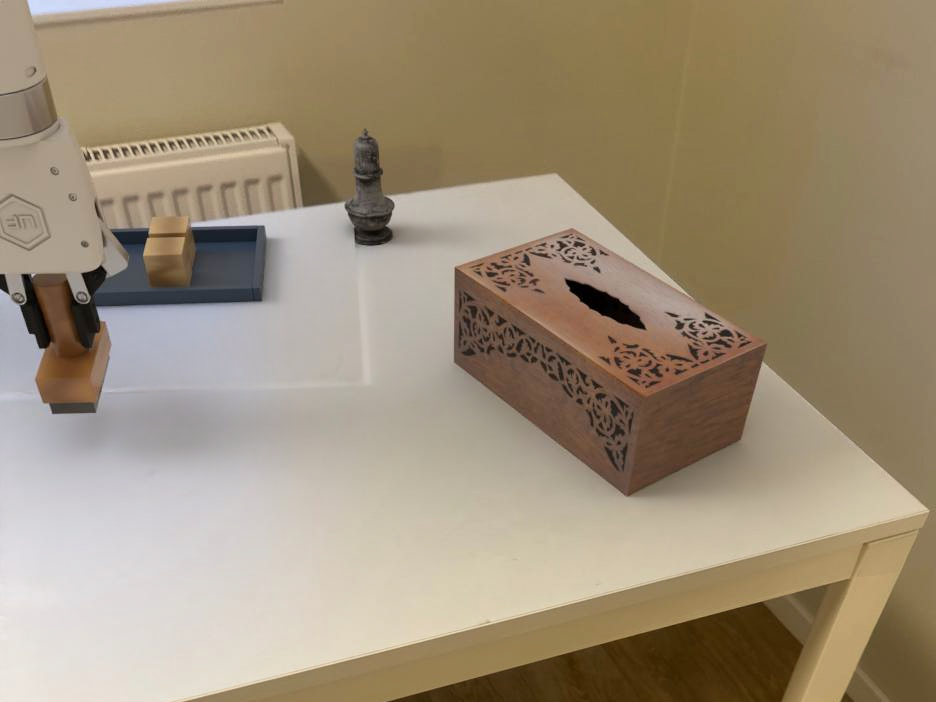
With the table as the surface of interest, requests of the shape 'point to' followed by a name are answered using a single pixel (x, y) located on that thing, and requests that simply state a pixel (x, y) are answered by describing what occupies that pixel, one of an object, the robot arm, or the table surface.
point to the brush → (68, 352)
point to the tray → (193, 269)
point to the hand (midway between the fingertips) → (68, 338)
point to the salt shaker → (369, 195)
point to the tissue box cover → (604, 356)
